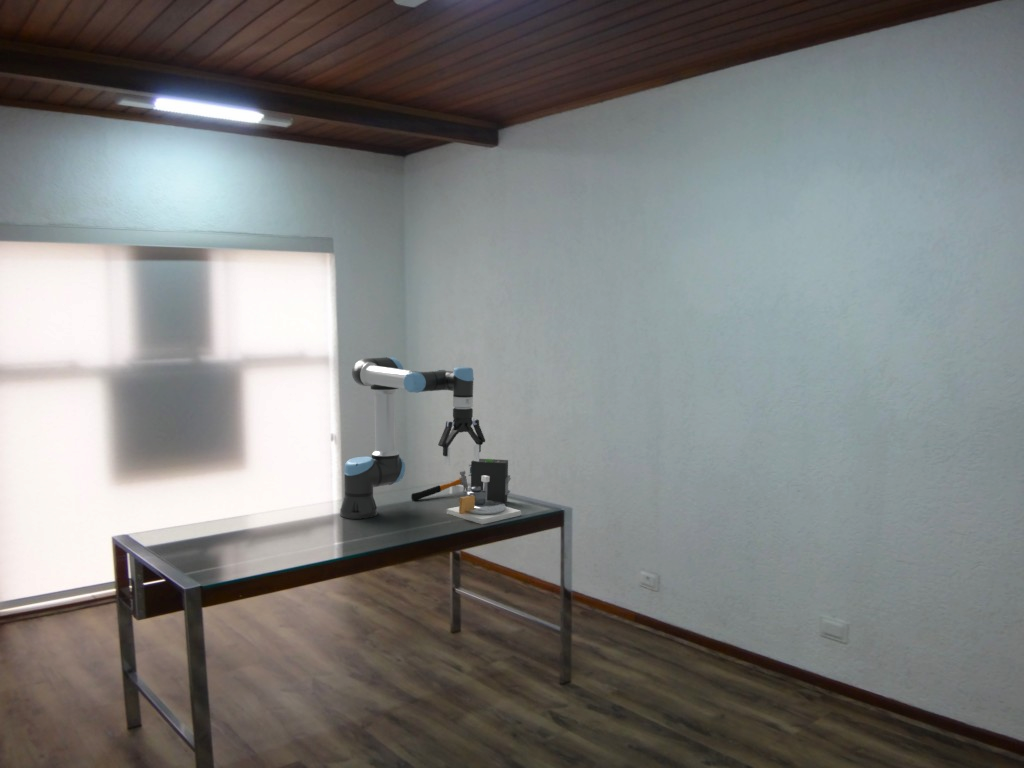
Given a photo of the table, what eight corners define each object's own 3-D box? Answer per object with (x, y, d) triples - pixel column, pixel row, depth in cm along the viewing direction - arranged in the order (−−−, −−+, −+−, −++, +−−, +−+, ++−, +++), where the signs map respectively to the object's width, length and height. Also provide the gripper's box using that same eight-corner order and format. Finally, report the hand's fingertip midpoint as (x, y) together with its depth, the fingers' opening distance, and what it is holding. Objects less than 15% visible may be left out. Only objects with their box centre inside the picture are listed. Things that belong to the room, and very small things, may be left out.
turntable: (446, 509, 337) (446, 494, 336) (485, 501, 352) (485, 486, 351) (475, 518, 324) (475, 502, 323) (514, 509, 339) (514, 494, 339)
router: (470, 499, 366) (471, 455, 364) (510, 501, 363) (511, 457, 362) (467, 503, 358) (468, 459, 356) (507, 505, 355) (508, 460, 354)
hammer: (412, 488, 358) (466, 470, 377) (408, 487, 361) (462, 469, 379) (416, 511, 360) (469, 492, 379) (411, 510, 363) (465, 491, 381)
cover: (462, 502, 343) (462, 486, 342) (476, 499, 348) (476, 484, 348) (475, 506, 337) (475, 490, 336) (489, 503, 343) (489, 487, 342)
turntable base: (446, 513, 340) (447, 480, 338) (485, 505, 355) (485, 474, 354) (482, 524, 324) (482, 490, 323) (520, 515, 339) (521, 482, 338)
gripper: (440, 410, 297) (439, 467, 299) (494, 406, 312) (493, 461, 314) (429, 408, 303) (428, 464, 305) (483, 404, 318) (482, 457, 320)
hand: (461, 462), depth 309 cm, fingers open, 13 cm apart
